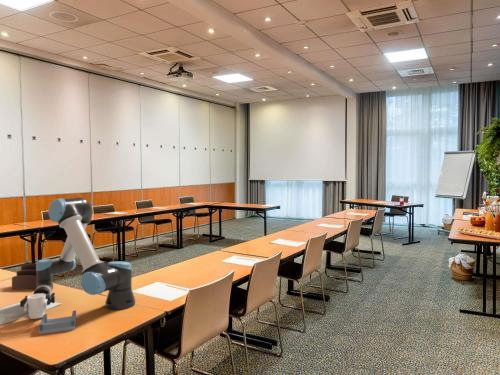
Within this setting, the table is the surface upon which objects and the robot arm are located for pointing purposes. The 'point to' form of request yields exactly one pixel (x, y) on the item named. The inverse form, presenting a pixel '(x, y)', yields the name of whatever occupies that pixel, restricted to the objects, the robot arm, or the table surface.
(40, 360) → the table surface
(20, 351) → the table surface
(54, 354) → the table surface
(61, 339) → the table surface
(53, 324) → the dock
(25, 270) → the letter holder
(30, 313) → the white cup
